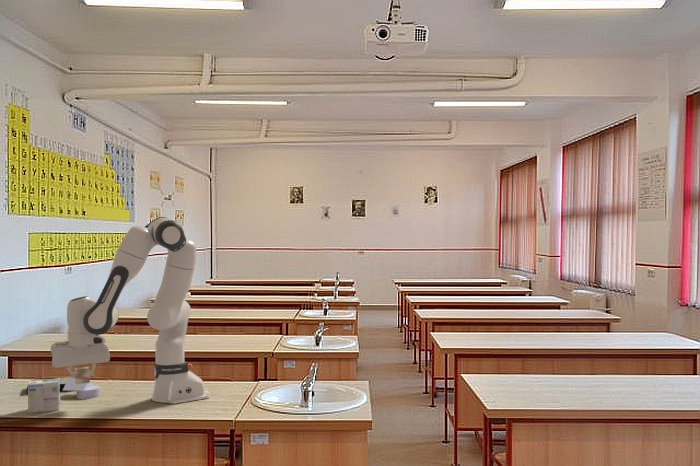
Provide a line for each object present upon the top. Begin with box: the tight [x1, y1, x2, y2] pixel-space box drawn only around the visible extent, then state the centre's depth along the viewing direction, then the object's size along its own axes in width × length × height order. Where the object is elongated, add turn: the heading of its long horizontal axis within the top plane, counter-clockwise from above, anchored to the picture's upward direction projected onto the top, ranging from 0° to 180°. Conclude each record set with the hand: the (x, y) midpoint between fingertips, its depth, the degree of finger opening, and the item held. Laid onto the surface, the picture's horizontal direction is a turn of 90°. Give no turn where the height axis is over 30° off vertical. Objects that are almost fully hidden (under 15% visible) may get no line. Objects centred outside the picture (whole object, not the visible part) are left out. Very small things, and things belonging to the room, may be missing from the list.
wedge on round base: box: [63, 379, 102, 400], centre depth 268 cm, size 9×7×13 cm
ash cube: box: [74, 366, 91, 384], centre depth 250 cm, size 5×5×5 cm
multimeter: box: [26, 376, 77, 396], centre depth 280 cm, size 13×19×5 cm
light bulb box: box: [27, 378, 61, 414], centre depth 248 cm, size 11×7×11 cm, turn 111°
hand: (82, 376), depth 250 cm, fingers closed on ash cube, 5 cm apart
